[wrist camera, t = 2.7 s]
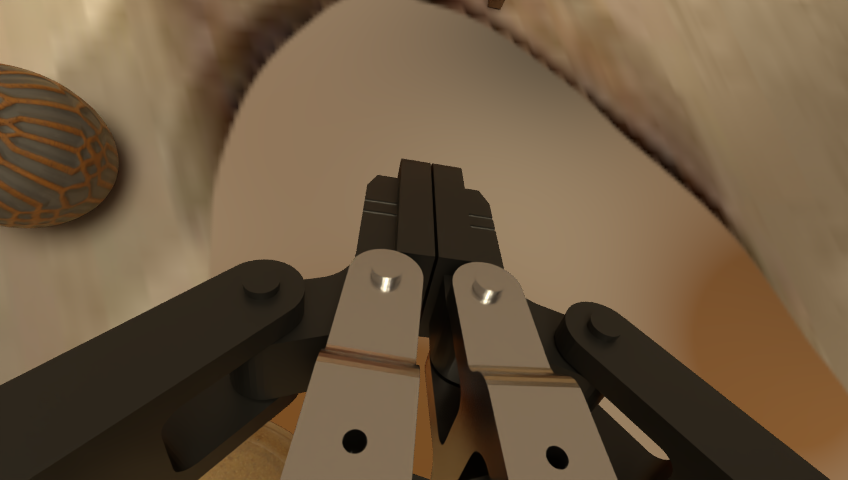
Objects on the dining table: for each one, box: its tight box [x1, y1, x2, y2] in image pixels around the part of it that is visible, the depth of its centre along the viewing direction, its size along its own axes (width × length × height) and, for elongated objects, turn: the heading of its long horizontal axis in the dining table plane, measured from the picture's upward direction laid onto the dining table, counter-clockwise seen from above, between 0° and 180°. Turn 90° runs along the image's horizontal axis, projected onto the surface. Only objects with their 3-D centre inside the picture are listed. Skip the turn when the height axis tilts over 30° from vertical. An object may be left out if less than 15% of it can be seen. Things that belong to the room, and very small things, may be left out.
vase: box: [0, 64, 119, 228], centre depth 19 cm, size 7×7×9 cm
